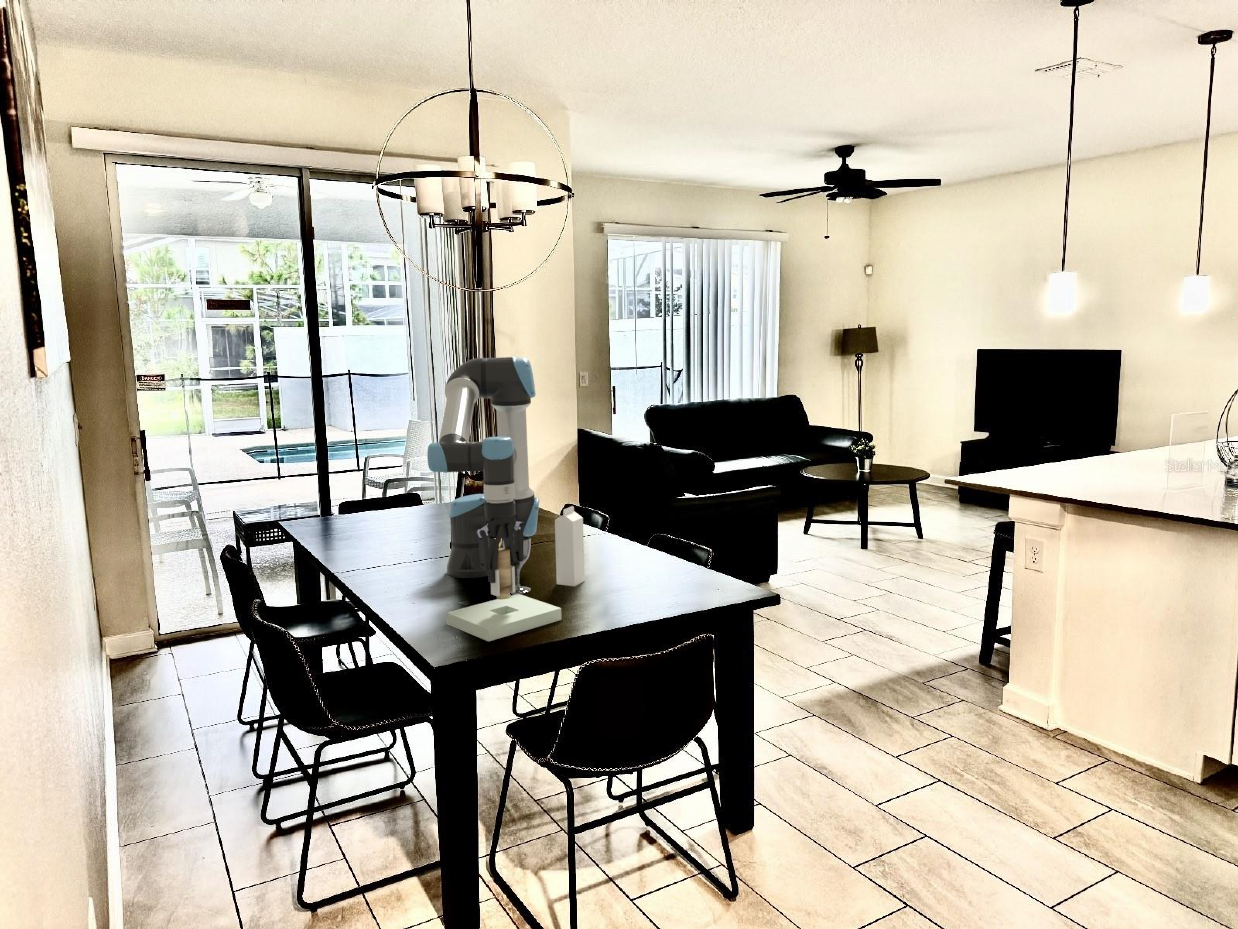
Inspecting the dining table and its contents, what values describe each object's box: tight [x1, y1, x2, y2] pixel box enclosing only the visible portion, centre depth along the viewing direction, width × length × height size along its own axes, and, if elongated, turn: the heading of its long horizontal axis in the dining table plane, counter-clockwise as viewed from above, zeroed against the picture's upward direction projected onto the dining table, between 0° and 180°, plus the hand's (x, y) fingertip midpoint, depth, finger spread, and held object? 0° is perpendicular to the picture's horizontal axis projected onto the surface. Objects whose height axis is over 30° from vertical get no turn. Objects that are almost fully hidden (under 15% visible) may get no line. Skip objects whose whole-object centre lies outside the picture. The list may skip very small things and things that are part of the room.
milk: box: [554, 505, 585, 587], centre depth 251 cm, size 6×6×22 cm
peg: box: [496, 547, 511, 599], centre depth 217 cm, size 4×4×12 cm
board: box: [446, 594, 562, 642], centre depth 219 cm, size 18×22×3 cm
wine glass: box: [501, 535, 532, 595], centre depth 245 cm, size 8×8×15 cm
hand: (503, 592), depth 218 cm, fingers closed on peg, 4 cm apart
